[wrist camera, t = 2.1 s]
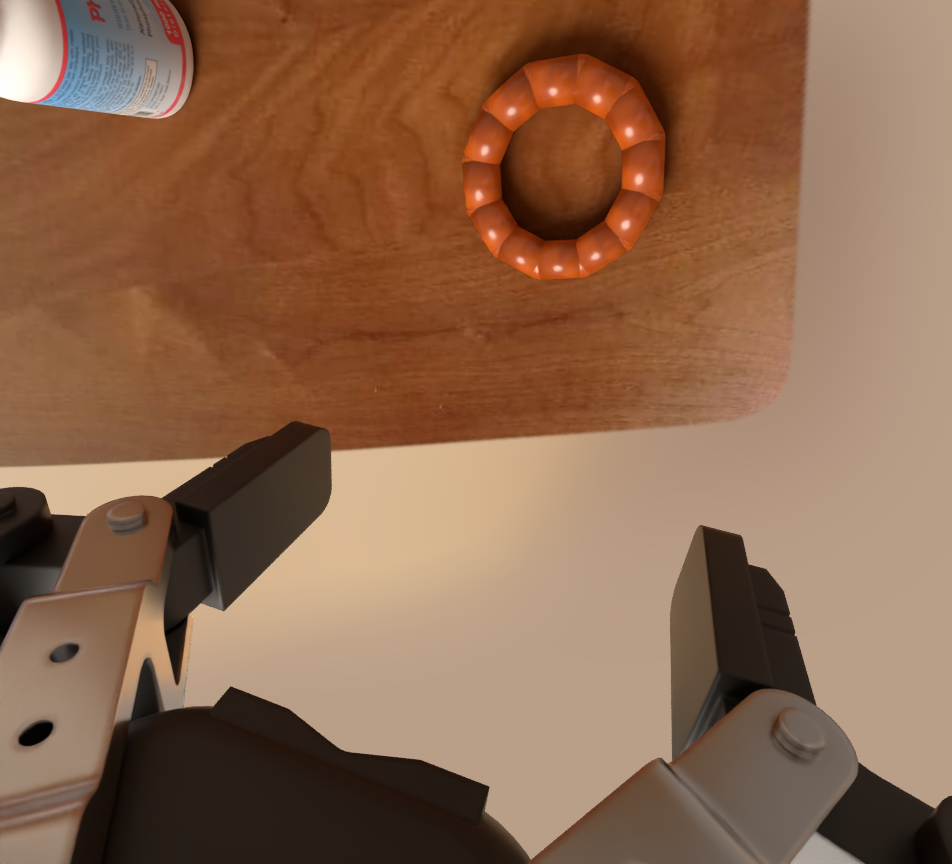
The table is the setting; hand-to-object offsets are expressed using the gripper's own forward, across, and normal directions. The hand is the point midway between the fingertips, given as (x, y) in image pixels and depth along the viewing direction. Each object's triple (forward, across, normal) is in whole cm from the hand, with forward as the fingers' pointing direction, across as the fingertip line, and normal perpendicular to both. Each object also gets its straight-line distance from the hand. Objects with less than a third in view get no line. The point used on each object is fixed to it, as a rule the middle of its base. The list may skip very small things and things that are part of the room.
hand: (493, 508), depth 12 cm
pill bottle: (+19, +26, -9) cm, 34 cm away
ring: (+18, +3, -6) cm, 19 cm away
